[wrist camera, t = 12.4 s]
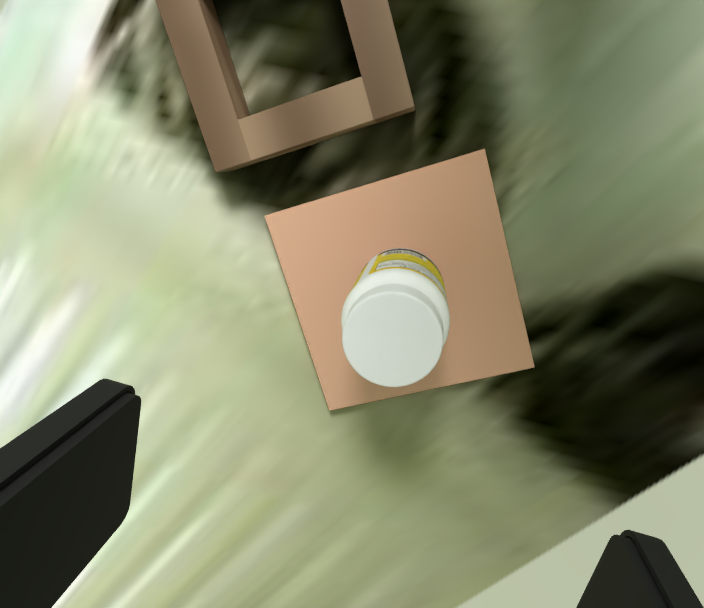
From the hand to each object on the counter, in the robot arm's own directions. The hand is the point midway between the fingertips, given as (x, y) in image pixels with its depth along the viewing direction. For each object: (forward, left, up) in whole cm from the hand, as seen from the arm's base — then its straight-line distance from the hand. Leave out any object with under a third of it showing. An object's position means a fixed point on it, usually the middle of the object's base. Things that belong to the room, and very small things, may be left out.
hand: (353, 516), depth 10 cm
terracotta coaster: (0, 0, -19) cm, 19 cm away
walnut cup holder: (+2, -14, -19) cm, 24 cm away
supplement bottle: (0, 0, -19) cm, 19 cm away
